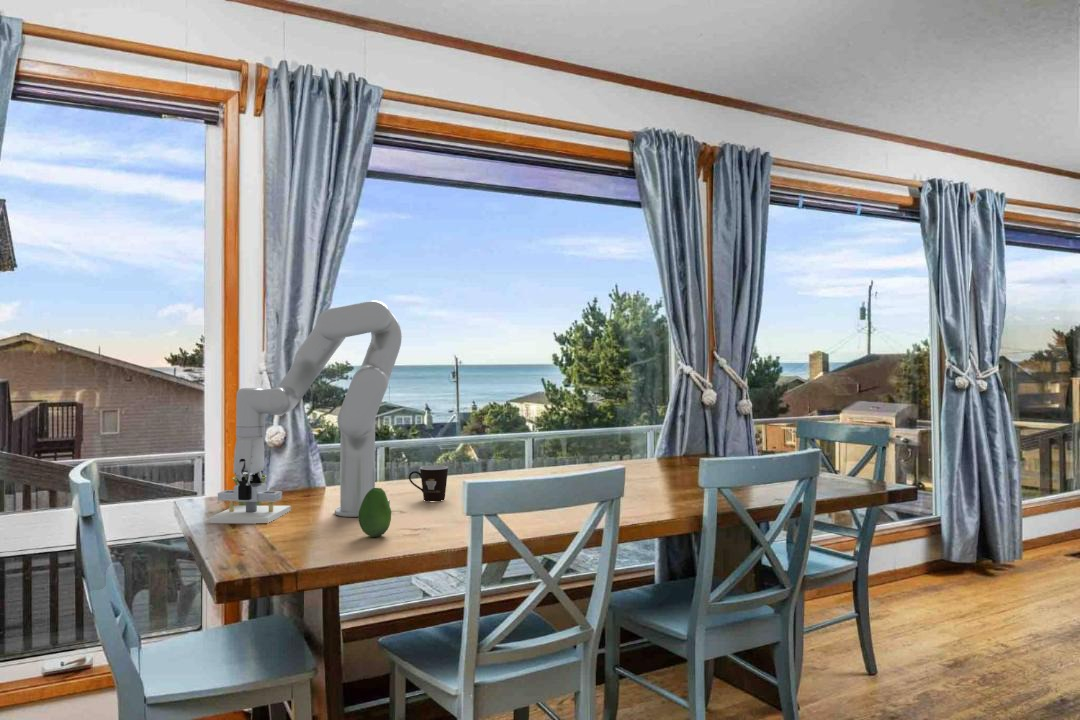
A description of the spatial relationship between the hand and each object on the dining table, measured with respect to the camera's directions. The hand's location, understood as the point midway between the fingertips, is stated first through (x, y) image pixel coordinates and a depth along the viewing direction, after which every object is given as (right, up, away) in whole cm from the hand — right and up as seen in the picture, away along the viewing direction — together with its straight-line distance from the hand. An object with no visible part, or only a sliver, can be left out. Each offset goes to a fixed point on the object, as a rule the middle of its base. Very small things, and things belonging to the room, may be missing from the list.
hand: (250, 496), depth 202 cm
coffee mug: (+46, -6, +24) cm, 53 cm away
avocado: (+40, -6, -22) cm, 46 cm away
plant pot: (-6, -6, +15) cm, 17 cm away
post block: (0, -6, 0) cm, 6 cm away
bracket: (0, -1, 0) cm, 1 cm away
